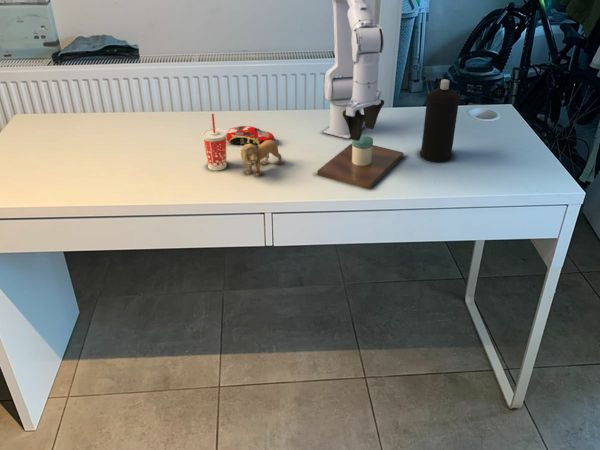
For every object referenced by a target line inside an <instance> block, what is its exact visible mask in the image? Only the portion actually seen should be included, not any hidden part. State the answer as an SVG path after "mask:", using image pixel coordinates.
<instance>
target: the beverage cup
mask: <svg viewBox="0 0 600 450" xmlns="http://www.w3.org/2000/svg"><path fill="white" fill-rule="evenodd" d="M211 121H212V128H209V129H205V130H204V131H202V133H201V138H202V140H203V144H204V150H205V156H206V162H207V167H208V169H209V170H211V171H222V170H225V169H226V168H227V140H226V139H227V138H226V137H227V132H228V131H227V130H225V129H223V128H218V127H216V126H215V125H216V124H215V113H211Z"/></svg>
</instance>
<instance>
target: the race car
mask: <svg viewBox="0 0 600 450" xmlns="http://www.w3.org/2000/svg"><path fill="white" fill-rule="evenodd" d="M226 132H227V137H226V142H228V143H232V144H233V145H235V146H236V145H239V144H240V145H246V144H249V143H250V144H254V145H256V146H259V145H260V144H262V143H263V142H264V141H266V140H273V141H275V142H276V139H275V138H276V137H275V136H274V134H273V133H272V132H270V131H266V130H261V129H260V128H259V127H258V128H257V127H255V126H250V125H249V126H248V125H241V126H240V125H239V126H236V127H231V128H229V129H228V130H227V131H226Z"/></svg>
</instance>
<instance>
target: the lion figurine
mask: <svg viewBox="0 0 600 450" xmlns="http://www.w3.org/2000/svg"><path fill="white" fill-rule="evenodd" d="M270 154H271V155H272V156H273V157H276V158H277V160H276V164H282V155H281V153H280V152H279V147H278V144H277V142H276V140H275V141H273V140H266V141H264V142H263V143H262V144H260V145H254V144H250V143H249V144H243V146H242V147H241V149H240V157H241V160H242V162H243V164H244V165H246V167H247V170H246V172H245V173H246V174H247V175H250V174H251V173H252V171H253V169H252V168H253V166H255V176H257V177H258V176H261V175H262V174H261V164H262V165H266V164H267V163H268V161H269V159H270Z"/></svg>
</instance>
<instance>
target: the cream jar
mask: <svg viewBox="0 0 600 450" xmlns="http://www.w3.org/2000/svg"><path fill="white" fill-rule="evenodd" d="M351 144H352V163H354V164H355V165H359V166H365V165H369V164H371V162H372V149H373V145H374V139H373V137H372V136H369V135H367V134H361V137H360V140H359V141H356V140H352V139H351Z"/></svg>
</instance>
